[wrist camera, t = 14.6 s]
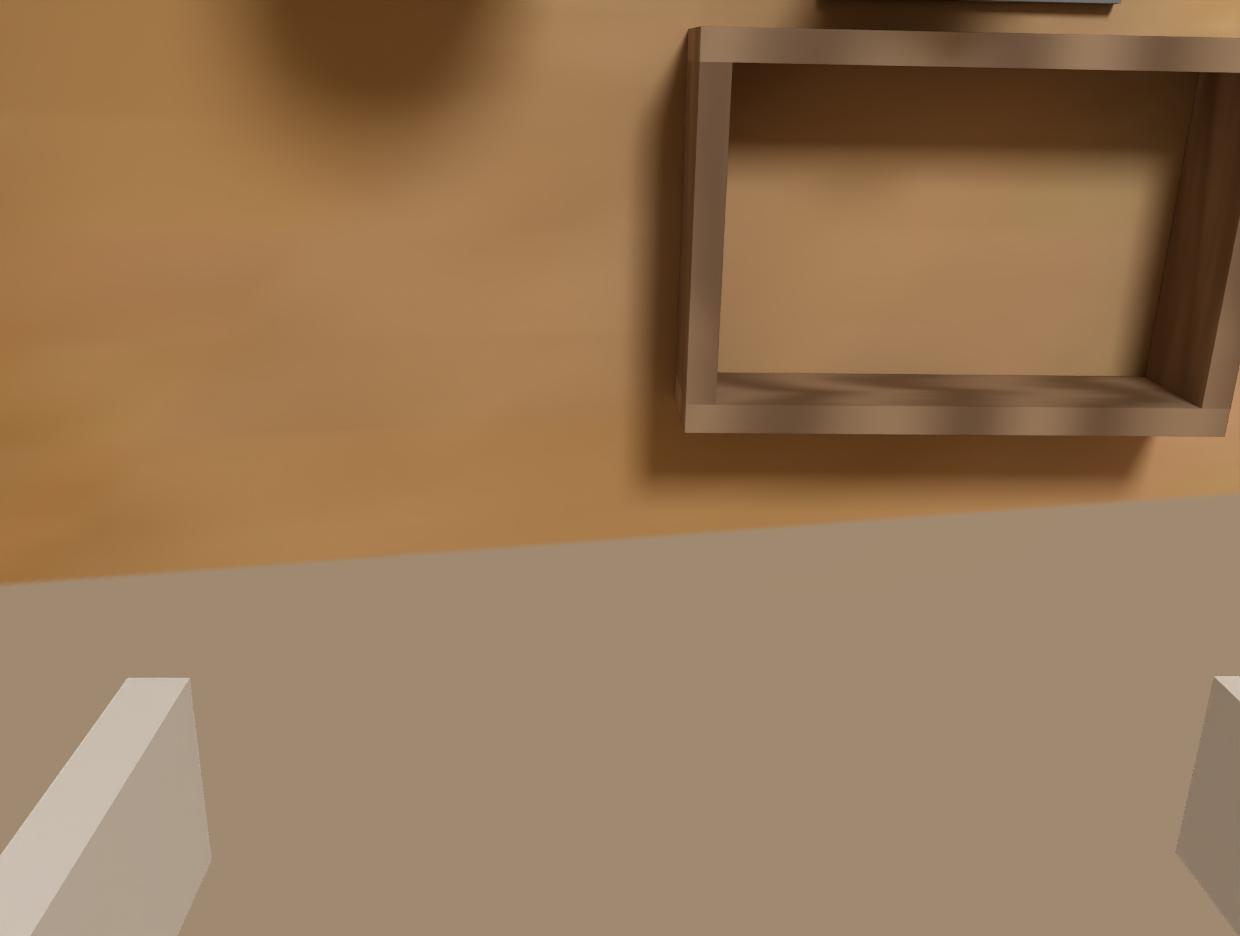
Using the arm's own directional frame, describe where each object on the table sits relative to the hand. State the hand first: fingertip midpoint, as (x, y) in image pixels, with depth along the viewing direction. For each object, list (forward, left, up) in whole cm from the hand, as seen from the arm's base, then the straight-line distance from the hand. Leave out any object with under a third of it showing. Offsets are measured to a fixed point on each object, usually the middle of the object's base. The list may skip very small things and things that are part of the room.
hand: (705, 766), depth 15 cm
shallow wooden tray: (+14, +2, -37) cm, 39 cm away
